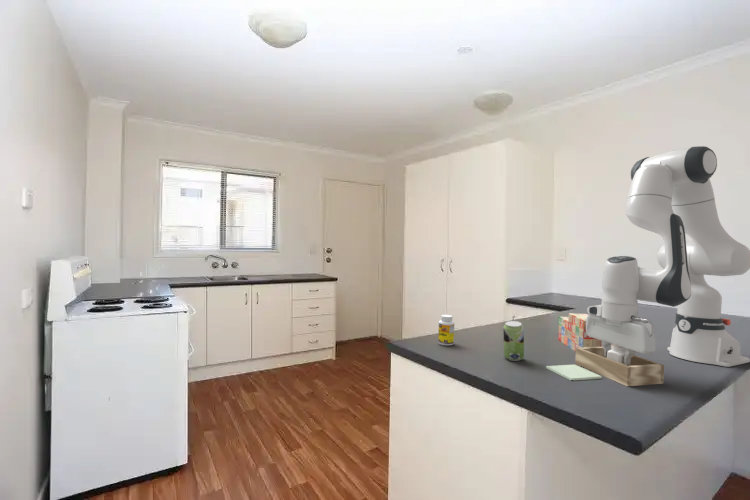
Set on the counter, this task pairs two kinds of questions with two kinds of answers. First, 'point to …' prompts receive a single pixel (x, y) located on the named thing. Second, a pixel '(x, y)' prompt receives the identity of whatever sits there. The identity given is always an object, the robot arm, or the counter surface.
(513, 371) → the counter surface
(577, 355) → the open wooden box
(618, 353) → the salt shaker
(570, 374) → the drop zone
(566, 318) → the stack of blocks
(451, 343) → the supplement bottle
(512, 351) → the beverage can
